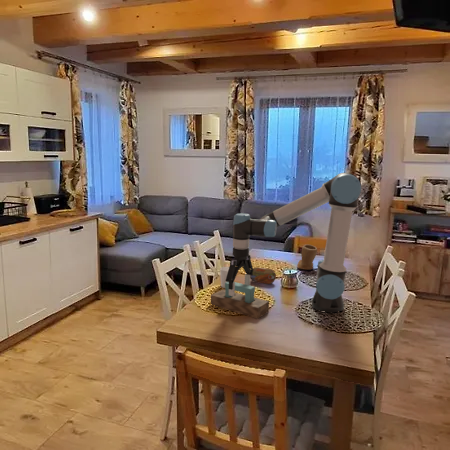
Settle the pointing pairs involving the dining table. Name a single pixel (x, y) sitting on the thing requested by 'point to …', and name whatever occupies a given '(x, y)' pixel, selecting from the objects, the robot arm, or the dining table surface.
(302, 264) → the stone cup
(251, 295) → the clip
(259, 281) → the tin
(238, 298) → the wooden socket block
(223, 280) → the white cup
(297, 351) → the dining table surface
